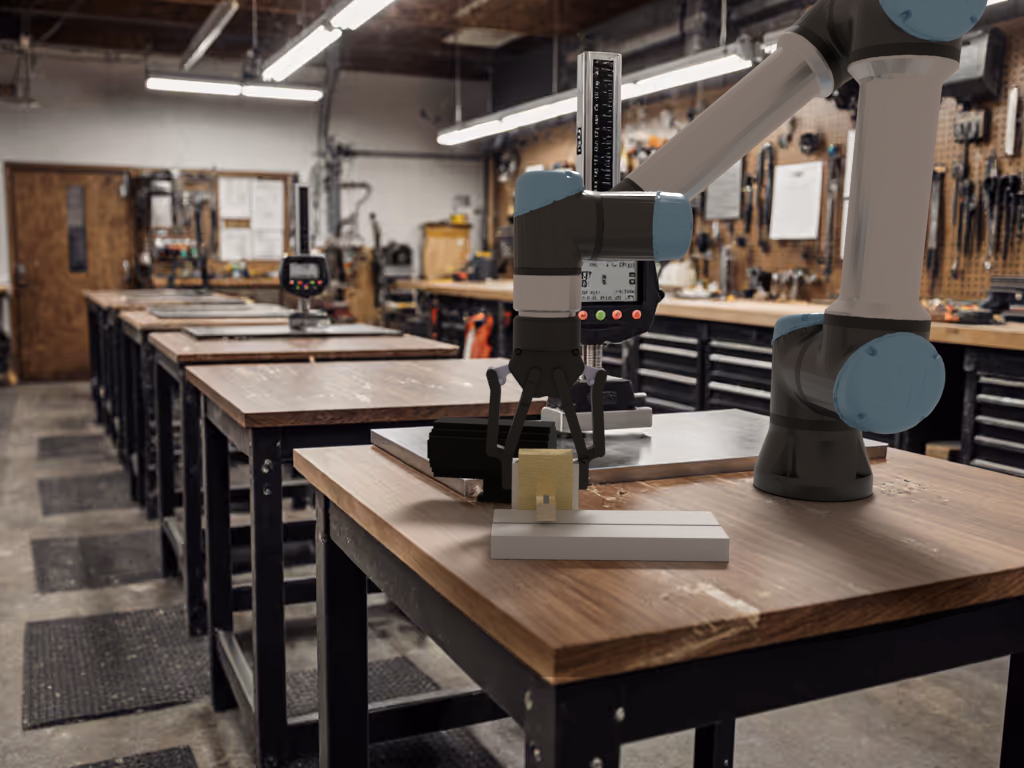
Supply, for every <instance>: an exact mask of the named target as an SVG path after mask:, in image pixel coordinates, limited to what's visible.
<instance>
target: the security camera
mask: <svg viewBox="0 0 1024 768" xmlns="http://www.w3.org/2000/svg"><path fill="white" fill-rule="evenodd" d="M512 421H513V419H506V418H505V419H500V418H499V430H498V445H501V446H505V442H506V439H507V436H508V433H509V430H510V427H511V424H512ZM487 428H488V418H478V417H456V416H455V417H454V416H453V417H451V416H441V417H439V418H437V419H435V420H434V421H432V428H431V429H430V430H431V431H430V432H428V439H427V440H426V442H427V443H426V444H427V445H426V452H427V453H426V458H427V459H428V463H429V468H431V473H433V475H432V476H433V478H449V479H462V480H463V479H464V480H465V479H467V480H469V479H470V480H480V481H481V480H482V491H480V492H479V493H478V494H477V495H476V503H490V504H503V505H504V504H505V505H509V504H510V505H512V489H503V487H502V462H501V460H500V459H498V458H496V457H493V456H488V455H487V453H486V442H487ZM557 444H558V431H557V426H556V421H553V420H552V421H551V420H549V421H548V420H527V419H525V422H524V425H523V428H522V431H521V434H520V437H519V440H518V443H517V446H516V449H515V452H514V455H513V458H519V449H558V447H557V446H558V445H557Z"/></svg>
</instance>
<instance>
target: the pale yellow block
mask: <svg viewBox="0 0 1024 768" xmlns="http://www.w3.org/2000/svg"><path fill="white" fill-rule="evenodd" d="M573 453H574V452H573V449H572V448H571V449H570V448H569V449H568V448H560V449H559V448H557V449H519V466H518V509H531V510H536V521H556V510H572V484H573V459H574V454H573Z"/></svg>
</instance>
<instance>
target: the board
mask: <svg viewBox="0 0 1024 768" xmlns="http://www.w3.org/2000/svg"><path fill="white" fill-rule="evenodd" d="M730 540H731V538H730V537H729V535H728V534H727V533H726V530H724V529H723V527H722V525H721V524H720V523H719V521H718V520H717V518H716V517H715V515H714V513H712V511H711V510H710V511H708V510H707V511H703V510H702V511H701V510H699V511H697V510H695V511H694V510H619V509H617V510H615V509H614V510H612V509H609V510H607V509H606V510H604V509H603V510H602V509H599V510H598V509H578V510H556V521H536V510H531V509H512V508H509V509H507V508H494V509H493V518H492V525H491V533H490V559H491V560H492V559H493V560H495V559H496V560H497V559H498V560H500V559H501V560H507V559H508V560H564V561H565V560H568V561H569V560H570V561H571V560H573V561H574V560H575V561H577V560H578V561H581V560H583V561H587V560H588V561H647V562H648V561H653V562H657V561H661V562H663V561H664V562H729V561H730Z"/></svg>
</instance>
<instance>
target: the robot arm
mask: <svg viewBox="0 0 1024 768" xmlns="http://www.w3.org/2000/svg"><path fill="white" fill-rule="evenodd" d="M988 1H989V0H816V2H815V3H814V4H813V5H812V6H811V7H809V9H808V10H806V12H804V13H803V15H801V16H800V17H799V19H797V20H796V21H795V22H794V23H793V24H792V25H791V26H789V27H788V28H787V29H786V30H785V31H784V32H783V33H782V34H780V35H779V36H778V38H777V41H776V48H775V50H774V51H773V52H772V53H770V55H768V56H767V57H766V58H764V60H762V61H761V62H760V63H759V64H758V65H756V66H755V67H754V68H752V70H751V71H749V72H748V73H747V74H745V75H744V76H743V77H742V78H741V79H740V80H738V82H736V83H735V84H734V85H733V86H731V87H730V88H729V89H728V90H727V91H725V93H723V94H722V95H721V96H720V97H718V98H717V99H716V100H715V101H714V102H712V103H711V104H710V105H709V106H708V107H707V108H705V109H704V110H703V111H702V112H700V113H699V114H698V115H697V116H696V117H695V118H693V119H692V120H691V121H690V122H689V123H688V124H686V125H685V126H684V127H682V129H681V130H679V131H678V132H677V133H675V135H673V136H672V137H671V138H670V139H668V140H667V141H666V142H664V143H663V145H661V146H660V147H659V148H658V149H657V150H656V151H654V152H653V153H652V154H651V155H650V156H649V157H647V158H646V159H645V160H644V161H643V162H641V164H638V166H637V167H635V168H634V169H633V170H632V171H631V172H630V173H628V174H627V175H626V176H624V178H623V179H622V180H621V181H619V182H618V183H617V184H615V186H613V187H612V188H611V189H609V190H608V191H597V190H596V191H595V190H590V189H586V186H585V184H584V177H583V175H582V174H581V173H579V172H577V171H574V170H573V171H572V170H560V169H559V170H558V169H557V170H554V169H550V170H549V169H548V170H544V169H543V170H530V171H525V172H523V173H522V174H520V175H519V176H518V178H516V181H515V191H514V204H513V205H514V208H513V209H514V210H513V213H512V217H513V275H512V277H513V284H512V286H513V288H512V290H513V291H512V296H513V297H512V299H513V300H512V302H513V303H512V308H513V310H515V311H516V312H518V315H515V316H514V318H512V322H513V323H512V326H513V327H512V355H511V357H510V359H509V361H508V363H507V364H502V365H499V366H489V367H487V369H486V373H485V376H486V380H487V381H486V382H487V384H488V387H489V403H488V415H487V417H488V418H487V419H488V428H487V442H486V453H487V455H488V456H493V457H496V458H498V459H500V460H501V462H502V487H503V489H512V504H511V509H518V466H519V458H513V455H514V452H515V449H516V446H517V443H518V440H519V437H520V434H521V431H522V428H523V425H524V422H525V420H527V419H526V418H527V415H528V413H529V409H530V407H531V404H532V402H533V399H541V398H544V397H545V398H546V397H547V398H552V399H560V403H561V406H562V410H563V412H564V415H565V418H566V422H567V424H568V425H567V426H568V428H569V432H570V435H571V438H572V440H573V445H574V448H575V451H576V455H577V458H573V484H572V510H579V491H582V490H583V491H587V490H588V488H589V486H590V485H589V480H590V479H589V478H590V477H589V475H590V471H589V470H590V463H591V462H592V460H594V459H598V458H603V457H604V456H605V455H606V436H605V434H606V433H605V414H604V411H605V410H604V395H603V393H604V392H603V391H604V388H605V385H606V382H607V379H608V372H607V370H605V368H603V367H601V366H600V367H594V366H591V365H587V364H585V361H584V360H583V357H582V354H581V346H582V345H581V344H582V343H581V340H582V339H581V338H582V337H581V335H582V334H581V333H582V332H581V331H582V328H581V327H582V325H581V323H582V322H581V321H582V319H581V318H580V317H579V316H578V315H577V312H580V311H581V310H582V281H583V279H582V276H583V273H582V271H583V269H582V265H583V260H589V261H596V260H603V261H655V263H656V262H657V263H659V262H661V261H679V260H680V259H683V258H684V257H685V256H686V255H687V253H688V251H689V249H690V247H691V244H692V239H693V233H694V232H693V231H694V215H693V207H692V204H691V201H692V200H693V199H695V198H696V197H698V196H699V194H701V193H702V192H703V191H705V190H706V189H708V187H709V186H710V185H711V184H712V183H714V182H715V181H716V180H717V179H719V178H720V177H721V176H722V175H724V174H725V173H726V172H727V171H728V170H729V169H731V168H732V167H734V165H735V164H737V163H738V162H739V161H740V160H741V159H743V158H744V157H745V156H747V155H748V154H749V153H750V152H751V151H752V150H754V148H756V147H757V146H759V145H760V143H762V142H763V141H764V140H765V139H766V138H767V137H769V136H770V135H772V133H774V132H775V131H776V130H778V128H780V127H781V126H782V125H783V124H784V123H785V122H787V121H788V120H789V119H790V118H792V117H793V116H794V115H795V114H796V113H797V112H799V111H800V110H801V109H803V107H804V106H806V105H807V104H808V103H810V102H811V101H812V100H814V98H817V99H818V98H819V99H820V98H821V99H823V98H827V97H829V96H830V95H832V94H833V93H834V92H835V91H836V90H838V89H839V88H840V87H841V86H843V85H844V84H845V83H847V82H849V81H850V80H852V79H854V80H855V81H856V83H858V85H859V91H858V102H857V113H856V123H855V131H854V143H853V153H852V161H851V162H852V164H851V173H850V182H849V183H850V184H849V185H850V186H849V197H848V205H847V215H846V227H845V235H844V236H845V237H844V245H843V259H842V268H841V279H840V288H839V295H838V297H837V298H836V299H835V300H834V301H833V302H832V303H831V304H829V305H828V306H827V307H826V308H825V309H824V312H811V313H795V314H794V313H793V314H786V315H783V316H780V317H779V318H778V319H777V320H776V322H775V323H774V328H773V335H772V338H771V343H770V345H771V348H772V350H771V351H772V352H771V371H770V374H771V375H770V378H771V379H770V397H769V399H770V401H769V422H768V423H769V425H768V430H767V432H766V435H765V437H764V439H763V443H762V445H761V448H760V451H759V453H758V456H757V459H756V461H755V463H754V467H753V478H752V479H753V483H752V484H753V486H755V487H756V488H758V489H759V490H762V491H764V492H766V493H769V494H773V495H776V496H782V497H786V498H792V499H799V500H809V501H822V502H828V501H829V502H835V501H836V502H837V501H838V502H839V501H840V502H844V501H854V500H859V499H860V500H861V499H864V498H867V497H869V496H871V495H872V494H873V493H874V492H873V489H874V474H873V470H872V466H871V463H870V462H871V461H870V458H869V455H868V453H867V452H868V451H867V449H866V445H865V442H864V438H863V432H870V433H875V434H882V435H890V434H898V433H901V432H902V433H903V432H905V431H908V430H909V429H912V428H914V427H915V426H917V425H918V424H919V423H921V422H922V421H923V420H924V419H925V418H927V417H928V416H929V415H930V414H932V412H933V410H934V409H935V407H936V406H937V404H939V401H940V399H941V397H942V395H943V391H944V389H945V383H946V368H945V363H944V361H943V358H942V356H941V355H940V354H939V353H938V351H937V350H936V347H935V346H934V345H933V344H932V343H931V342H930V336H931V326H932V316H931V314H930V313H929V312H928V311H927V309H925V307H924V305H922V304H921V302H920V294H921V283H922V282H921V281H922V273H923V266H924V256H925V246H926V237H927V227H928V217H929V210H930V209H929V208H930V201H931V191H932V180H933V173H934V172H933V171H934V162H935V155H936V144H937V136H938V126H939V117H940V109H941V99H942V89H943V85H944V83H945V82H946V81H947V80H948V79H950V77H952V76H953V75H954V74H955V73H956V72H957V71H959V69H960V61H961V55H962V47H963V46H962V44H963V37H964V35H965V34H967V33H968V32H969V31H970V30H972V29H973V28H974V27H975V25H976V24H977V23H978V22H979V20H980V19H981V17H982V16H983V14H984V13H985V10H986V7H987V5H988ZM508 375H512V377H513V378H514V380H515V381H516V382H517V383H518V385H519V386H520V388H521V390H522V391H521V394H520V397H519V400H518V404H517V406H516V409H515V412H514V414H513V415H514V416H513V418H512V420H513V421H512V424H511V427H510V430H509V433H508V436H507V439H506V442H505V446H501V445H498V430H499V419H500V413H501V401H502V400H501V399H502V386H504V385H506V383H507V377H508ZM582 375H584V376H585V382H586V384H587V385H588V386H590V408H591V410H590V411H591V427H592V429H591V430H592V445H590V446H587V444H586V442H585V438H584V435H583V432H582V428H581V425H580V422H579V419H578V415H577V412H576V408H575V406H574V402H573V398H572V395H571V392H570V390H571V389H572V387H574V386H575V384H576V383H577V381H578V380H579V378H580V377H581V376H582Z"/></svg>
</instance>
